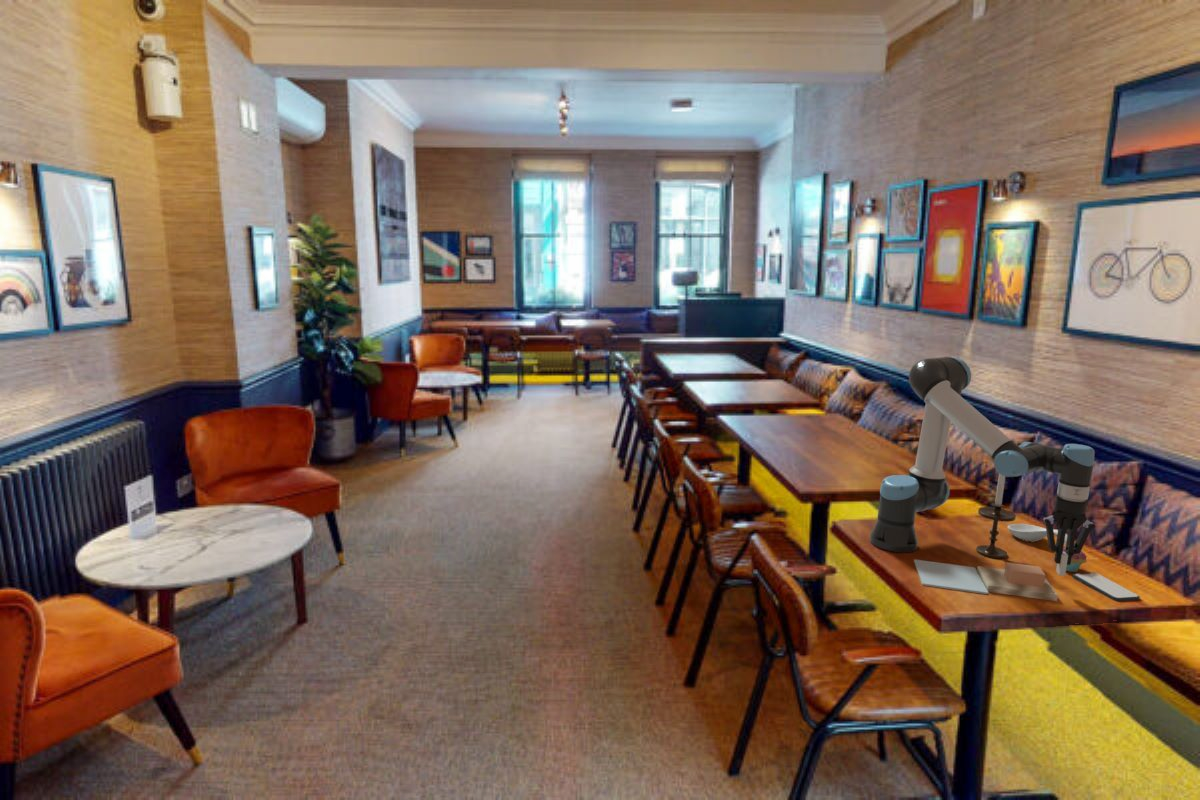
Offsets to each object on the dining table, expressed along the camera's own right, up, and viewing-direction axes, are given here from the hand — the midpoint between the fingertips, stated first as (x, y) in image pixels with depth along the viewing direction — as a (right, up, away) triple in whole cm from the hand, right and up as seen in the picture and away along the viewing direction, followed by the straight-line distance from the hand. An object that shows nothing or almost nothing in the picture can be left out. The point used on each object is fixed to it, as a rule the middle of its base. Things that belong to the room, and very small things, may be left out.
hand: (1060, 573), depth 202 cm
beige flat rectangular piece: (-11, -5, +4) cm, 13 cm away
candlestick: (-4, 0, +28) cm, 29 cm away
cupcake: (+14, -3, +18) cm, 23 cm away
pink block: (-9, -3, +4) cm, 10 cm away
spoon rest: (+18, 0, +37) cm, 41 cm away
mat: (-28, -3, +10) cm, 30 cm away
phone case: (+16, -6, +5) cm, 18 cm away
